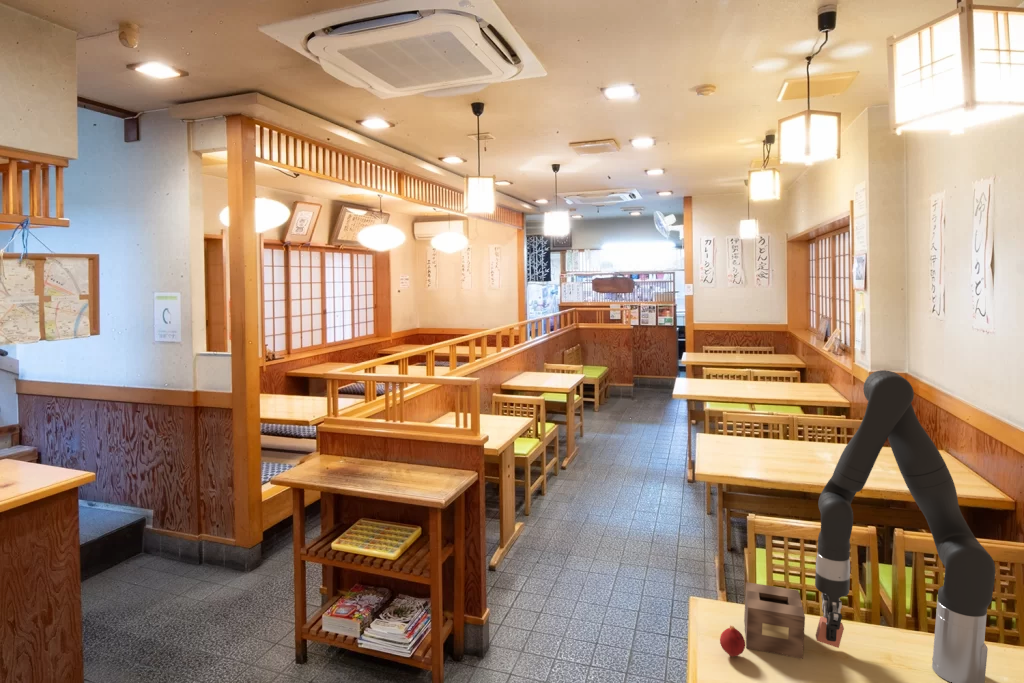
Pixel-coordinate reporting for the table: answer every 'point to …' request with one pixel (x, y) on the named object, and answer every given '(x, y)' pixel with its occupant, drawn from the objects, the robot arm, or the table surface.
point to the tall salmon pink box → (822, 633)
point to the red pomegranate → (732, 641)
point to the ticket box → (774, 620)
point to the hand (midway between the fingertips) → (829, 636)
